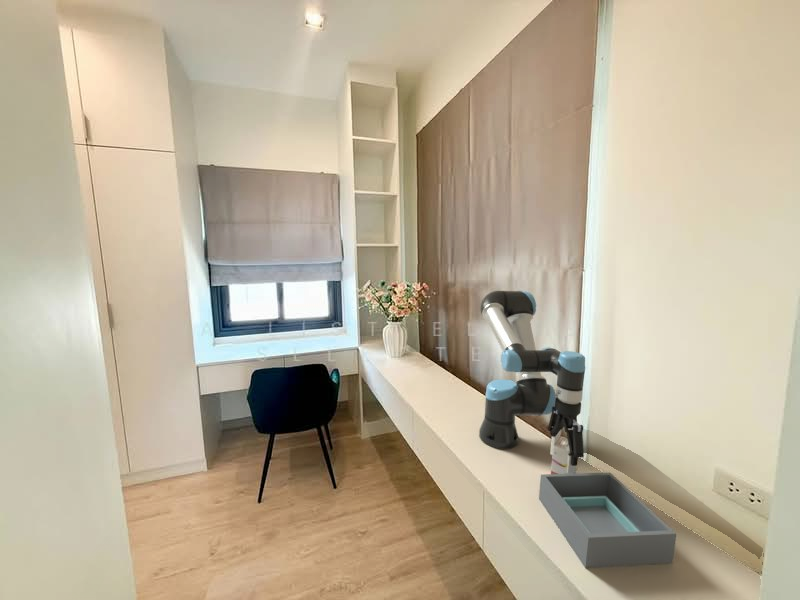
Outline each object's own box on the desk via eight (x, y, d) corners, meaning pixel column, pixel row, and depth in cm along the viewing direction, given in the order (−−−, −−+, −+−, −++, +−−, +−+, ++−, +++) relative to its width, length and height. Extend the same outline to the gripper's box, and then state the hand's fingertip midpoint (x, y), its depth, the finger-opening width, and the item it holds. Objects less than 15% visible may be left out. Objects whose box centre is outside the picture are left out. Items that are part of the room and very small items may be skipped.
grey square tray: (538, 498, 98) (540, 474, 97) (607, 496, 99) (610, 472, 98) (585, 567, 76) (588, 537, 75) (672, 563, 78) (676, 533, 77)
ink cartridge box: (566, 485, 104) (570, 443, 102) (549, 478, 107) (553, 437, 105) (572, 472, 110) (576, 432, 108) (556, 466, 113) (560, 427, 111)
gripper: (540, 386, 116) (535, 444, 119) (578, 415, 94) (571, 486, 97) (560, 386, 116) (555, 444, 119) (602, 415, 95) (594, 485, 98)
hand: (562, 463), depth 108 cm, fingers closed on ink cartridge box, 9 cm apart
